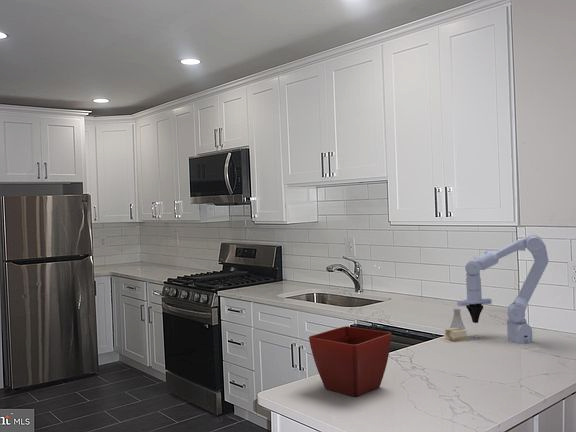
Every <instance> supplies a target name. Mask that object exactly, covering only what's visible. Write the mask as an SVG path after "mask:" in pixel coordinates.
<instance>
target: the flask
mask: <svg viewBox="0 0 576 432" xmlns="http://www.w3.org/2000/svg"><path fill="white" fill-rule="evenodd" d="M452 310H453V317H452V320H451V323H450V327H449V328H461V329H463V330H466V327H465V325H464V322H463V320H462V316H461V315H462V314H461V311H462V310H461V308H453V309H452Z"/></svg>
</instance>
